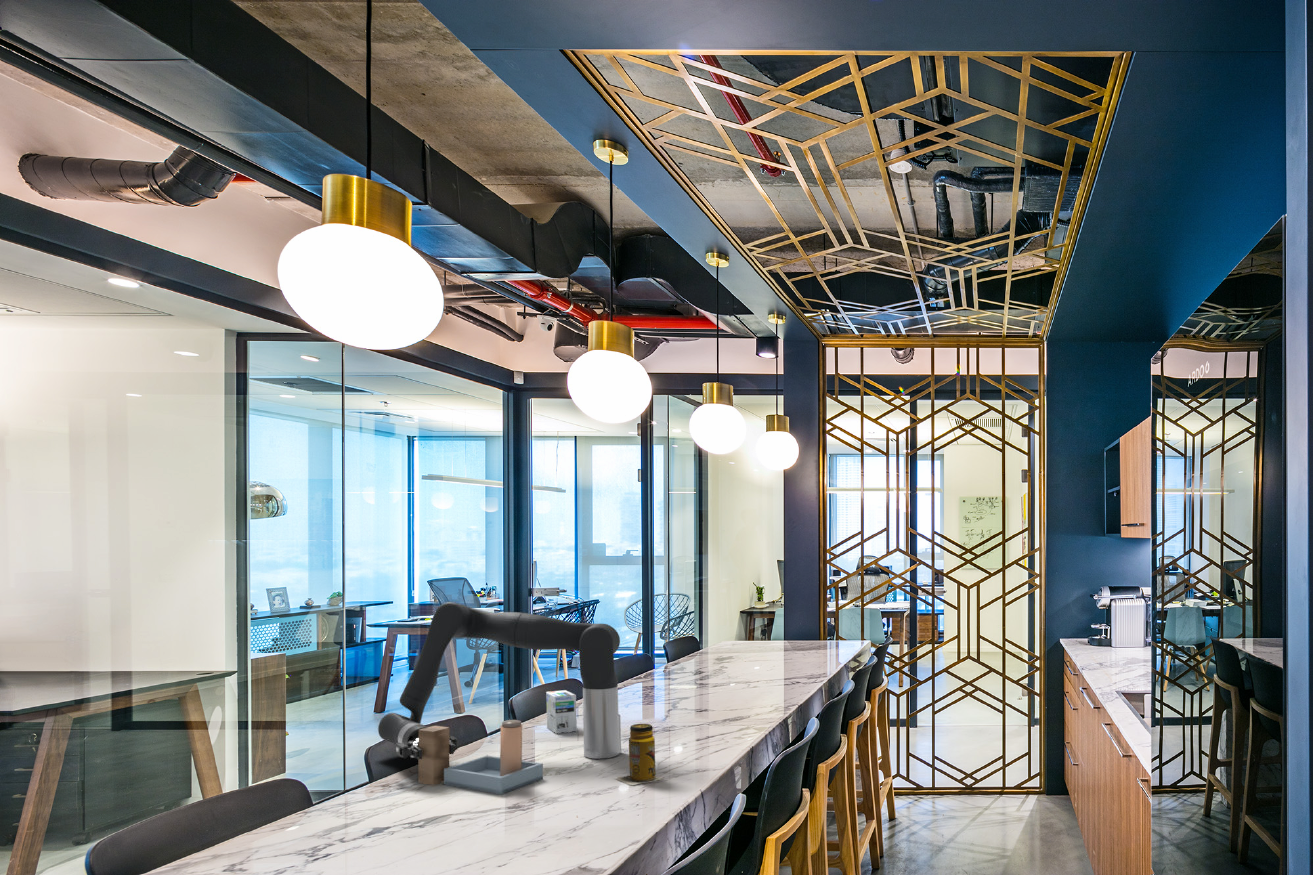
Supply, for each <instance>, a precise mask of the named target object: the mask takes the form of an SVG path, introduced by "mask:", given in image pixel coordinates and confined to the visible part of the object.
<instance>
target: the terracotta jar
mask: <svg viewBox="0 0 1313 875" xmlns="http://www.w3.org/2000/svg"><path fill="white" fill-rule="evenodd" d="M499 739H500V741H499V742H500V743H499V745H500V748H499V749H500V750H499V751H500V752H499V754H500V755H499V757H500V776H504V775H507V774H510V773H512V772H515V771H518V770H521V769H522V761H523V724H522V720H518V719H507V720H504V721H502V722H501V725H500V738H499Z"/></svg>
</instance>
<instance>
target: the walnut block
mask: <svg viewBox="0 0 1313 875" xmlns="http://www.w3.org/2000/svg"><path fill="white" fill-rule="evenodd" d="M449 735H450V727H447V726H442V725H441V726H440V725H432V726H428V728H424V729H420V730H419V748H421V749H422V759H417V760H418V769H417V770H418V771H417V772H418V776H417V777H418V779H417V780H418V781H417V782H419V784H424V785H429V784H430V786H435V784H436V785H439V784H441V782H442V783H444V769H445V768H448V767H450V754H449Z"/></svg>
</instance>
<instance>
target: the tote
mask: <svg viewBox="0 0 1313 875" xmlns="http://www.w3.org/2000/svg"><path fill="white" fill-rule="evenodd" d="M543 765H544V764H543V763H541V762H535V761H527V760H522V769H521V770H518V771H515V772H512V773H510V774H507V775H504V776H500V756H492V755H484V756H482V757H478V758H475V759H472V760H469V761H465V762H462V763H459V764H458V763H457V764H456V765H453V766H452V765H451V766H449V767H448V768H445V769H444V782H443V785H445V786H449V787H450V786H451V787H455V786H456V787H455V788H461V789H466V788H467V789H466V790H471V791H473V790H474V791H477V790H478V791H477V792H483V793H484V792H485V793H489V794H494V795H495V794H496V795H503V794H507V793H510V792H513V791H516V790H518V789H520V788H524V787H526V786H528V784H529V785H531V784H534V783H537V782H539V781H541V780H544V766H543Z"/></svg>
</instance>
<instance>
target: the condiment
mask: <svg viewBox="0 0 1313 875" xmlns="http://www.w3.org/2000/svg"><path fill="white" fill-rule="evenodd" d="M629 730H630V731H629V737H628V756H629V757H628V760H629V761H628V763H629V764H628V766H629V768H628V769H629V775H625V776H619V777H615V779H616V780H618V781H620V782H622V783H624V784H627V785H629V786H635V785H636V786H637V785H641V784H645V783H646V784H647V783H652V782H657V781H661V780H663V778H662V777H659V776H656V753H655V751H656V750H655V745H656V744H655V737H654V736H653V734H654V732H653V725H652V724H649V723H636V724H634V723H633V724H632V725H630V728H629Z"/></svg>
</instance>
